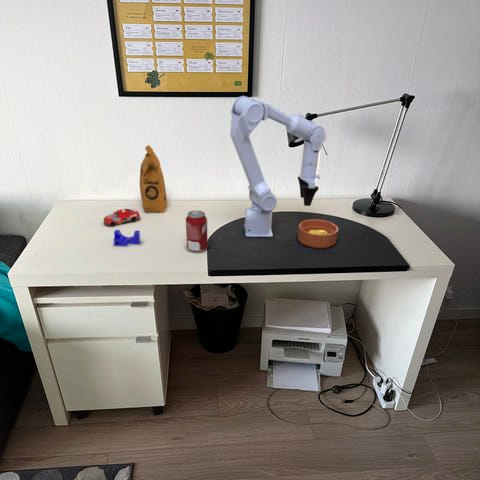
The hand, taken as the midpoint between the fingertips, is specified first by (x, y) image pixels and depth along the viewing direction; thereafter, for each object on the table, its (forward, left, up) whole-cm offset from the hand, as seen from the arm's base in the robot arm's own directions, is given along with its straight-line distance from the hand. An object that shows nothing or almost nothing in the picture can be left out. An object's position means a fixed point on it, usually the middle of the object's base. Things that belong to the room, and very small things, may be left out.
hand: (305, 201), depth 156 cm
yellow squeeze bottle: (+3, -12, -9) cm, 15 cm away
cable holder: (-61, -16, -10) cm, 64 cm away
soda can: (-38, -19, -10) cm, 44 cm away
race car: (-66, +2, -10) cm, 67 cm away
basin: (+3, -12, -9) cm, 16 cm away
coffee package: (-56, +16, -10) cm, 59 cm away
